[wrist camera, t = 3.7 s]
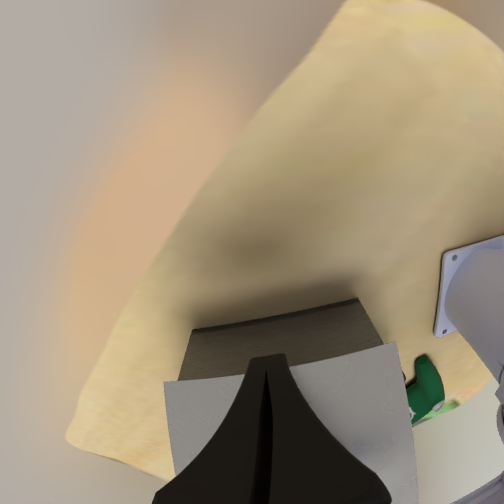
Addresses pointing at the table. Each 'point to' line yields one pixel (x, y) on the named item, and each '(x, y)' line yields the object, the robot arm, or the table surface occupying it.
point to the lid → (318, 413)
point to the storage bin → (280, 340)
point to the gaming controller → (425, 390)
